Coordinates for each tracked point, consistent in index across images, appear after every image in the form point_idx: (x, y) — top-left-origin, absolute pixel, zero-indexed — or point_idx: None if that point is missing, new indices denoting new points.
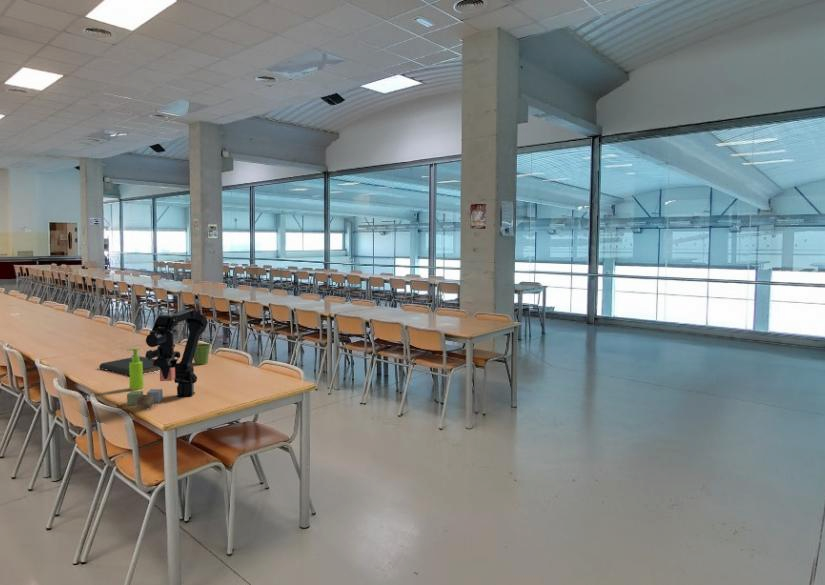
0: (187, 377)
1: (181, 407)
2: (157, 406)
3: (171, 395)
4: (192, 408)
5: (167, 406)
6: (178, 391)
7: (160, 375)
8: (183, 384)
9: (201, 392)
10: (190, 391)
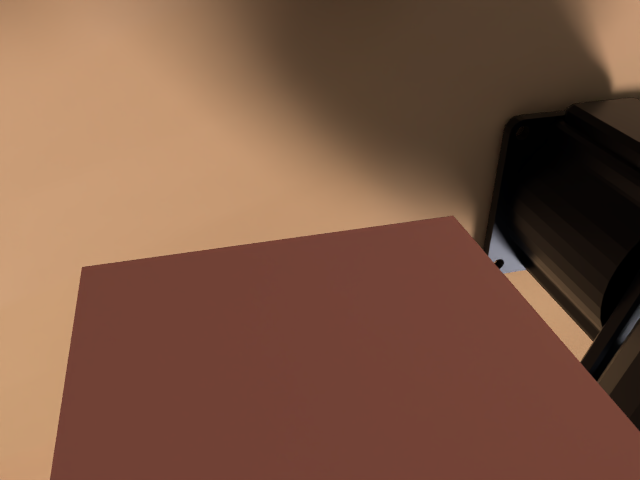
0: None
1: (47, 344)
2: (36, 19)
3: (611, 2)
4: (30, 450)
5: (62, 170)
6: (580, 143)
7: (62, 448)
8: (600, 281)
9: None
10: (546, 277)
